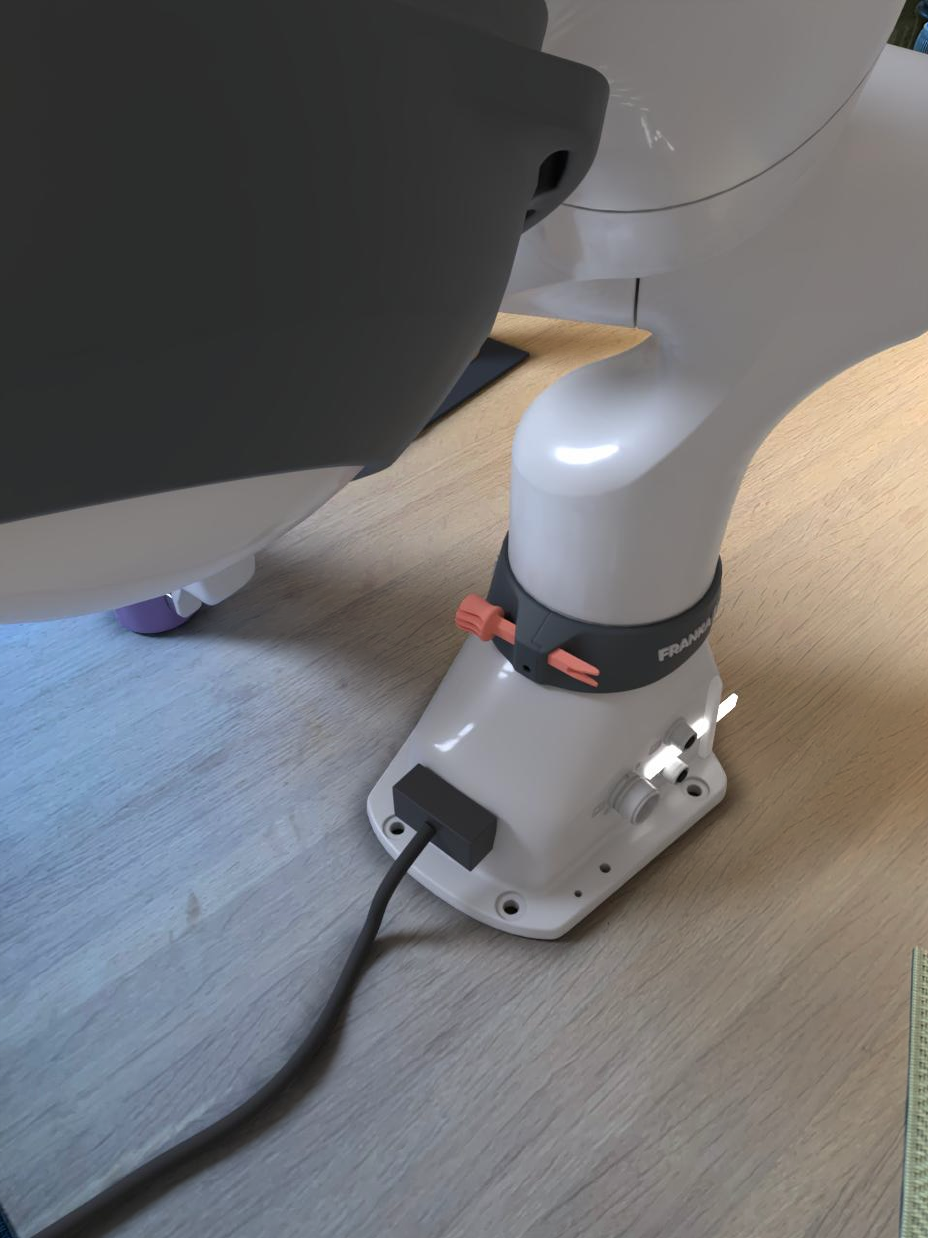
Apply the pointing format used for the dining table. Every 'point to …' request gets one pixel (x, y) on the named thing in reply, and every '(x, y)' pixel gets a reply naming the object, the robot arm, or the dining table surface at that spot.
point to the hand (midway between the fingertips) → (151, 586)
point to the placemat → (481, 373)
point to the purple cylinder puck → (149, 616)
